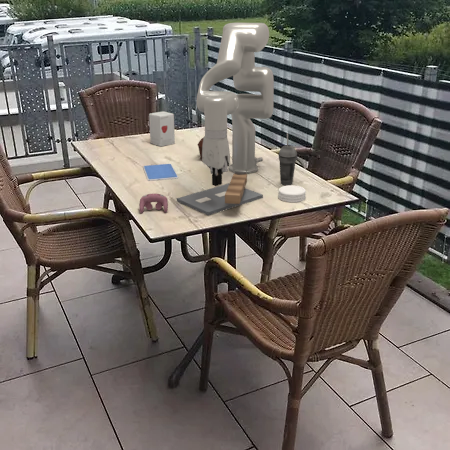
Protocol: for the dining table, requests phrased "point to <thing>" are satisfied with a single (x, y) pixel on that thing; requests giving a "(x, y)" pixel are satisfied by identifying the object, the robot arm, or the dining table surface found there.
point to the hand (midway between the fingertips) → (217, 184)
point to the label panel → (215, 199)
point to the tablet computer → (160, 172)
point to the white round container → (291, 193)
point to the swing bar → (236, 188)
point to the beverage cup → (287, 163)
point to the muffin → (200, 147)
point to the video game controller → (149, 198)
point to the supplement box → (162, 128)
